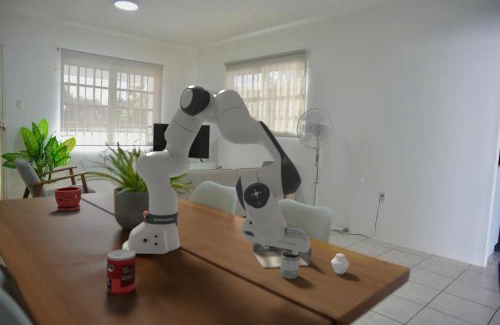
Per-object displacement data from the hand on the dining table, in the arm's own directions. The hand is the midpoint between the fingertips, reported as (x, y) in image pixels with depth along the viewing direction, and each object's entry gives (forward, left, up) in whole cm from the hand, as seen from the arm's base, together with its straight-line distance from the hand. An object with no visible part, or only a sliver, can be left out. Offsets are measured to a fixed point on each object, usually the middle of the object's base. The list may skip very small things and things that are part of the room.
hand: (281, 249), depth 110 cm
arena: (+8, +22, -12) cm, 26 cm away
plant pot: (-87, +109, -12) cm, 140 cm away
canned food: (-48, +5, -12) cm, 50 cm away
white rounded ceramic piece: (+25, +7, -12) cm, 29 cm away
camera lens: (+6, +7, -12) cm, 15 cm away
